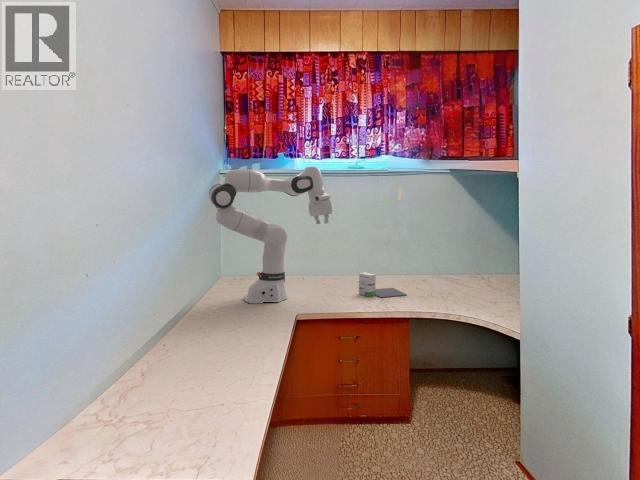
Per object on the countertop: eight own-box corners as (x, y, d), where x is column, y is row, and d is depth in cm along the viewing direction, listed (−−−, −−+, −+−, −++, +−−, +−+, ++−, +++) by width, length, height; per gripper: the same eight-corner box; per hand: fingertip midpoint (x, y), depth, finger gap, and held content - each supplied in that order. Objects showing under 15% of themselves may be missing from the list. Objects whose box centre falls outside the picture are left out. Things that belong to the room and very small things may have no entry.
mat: (380, 298, 233) (380, 296, 233) (367, 290, 248) (367, 289, 248) (406, 295, 238) (406, 294, 238) (393, 288, 253) (393, 287, 253)
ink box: (375, 295, 237) (376, 274, 236) (369, 297, 234) (369, 275, 233) (364, 292, 244) (365, 271, 242) (358, 294, 241) (358, 272, 239)
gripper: (304, 200, 237) (308, 225, 238) (320, 197, 218) (326, 224, 220) (314, 198, 239) (319, 223, 241) (331, 194, 221) (336, 221, 222)
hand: (322, 223), depth 230 cm, fingers open, 8 cm apart
